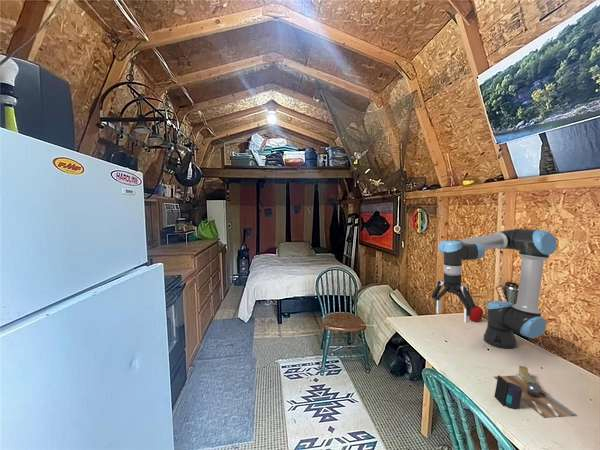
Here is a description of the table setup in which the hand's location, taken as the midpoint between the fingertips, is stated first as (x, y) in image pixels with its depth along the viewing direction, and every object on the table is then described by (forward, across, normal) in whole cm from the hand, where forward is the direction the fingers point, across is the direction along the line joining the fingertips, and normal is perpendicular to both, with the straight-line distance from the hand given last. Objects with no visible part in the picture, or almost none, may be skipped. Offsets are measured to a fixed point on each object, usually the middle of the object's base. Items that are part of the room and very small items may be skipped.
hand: (452, 317), depth 136 cm
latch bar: (+23, +27, +10) cm, 37 cm away
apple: (+25, -24, +64) cm, 73 cm away
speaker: (+25, +27, -8) cm, 37 cm away
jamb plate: (+24, +29, +5) cm, 39 cm away
